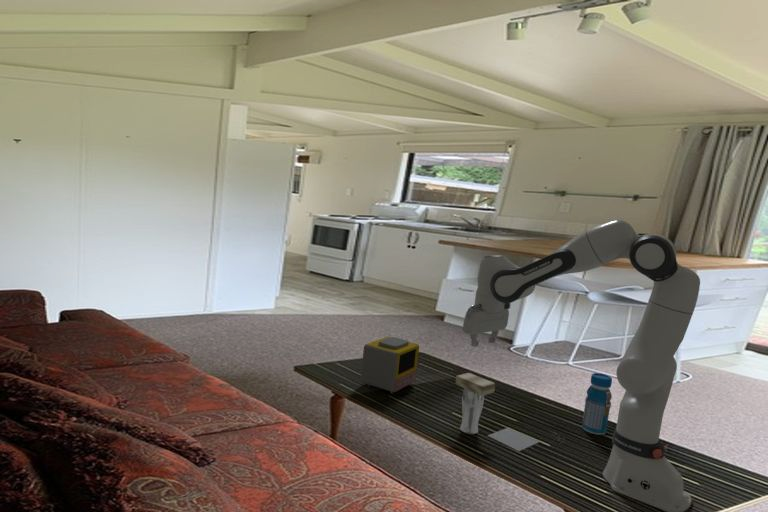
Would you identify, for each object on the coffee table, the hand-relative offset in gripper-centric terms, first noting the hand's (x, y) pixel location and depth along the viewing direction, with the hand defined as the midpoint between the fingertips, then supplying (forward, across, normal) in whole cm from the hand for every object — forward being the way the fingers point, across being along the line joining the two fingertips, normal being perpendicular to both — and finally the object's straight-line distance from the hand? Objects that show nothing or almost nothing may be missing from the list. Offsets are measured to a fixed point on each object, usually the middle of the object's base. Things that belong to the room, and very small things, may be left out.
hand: (483, 344), depth 169 cm
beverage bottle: (+30, +39, -24) cm, 55 cm away
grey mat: (+30, +6, -12) cm, 32 cm away
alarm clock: (+30, +2, +44) cm, 53 cm away
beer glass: (+30, -2, 0) cm, 30 cm away
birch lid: (+14, -2, 0) cm, 15 cm away
